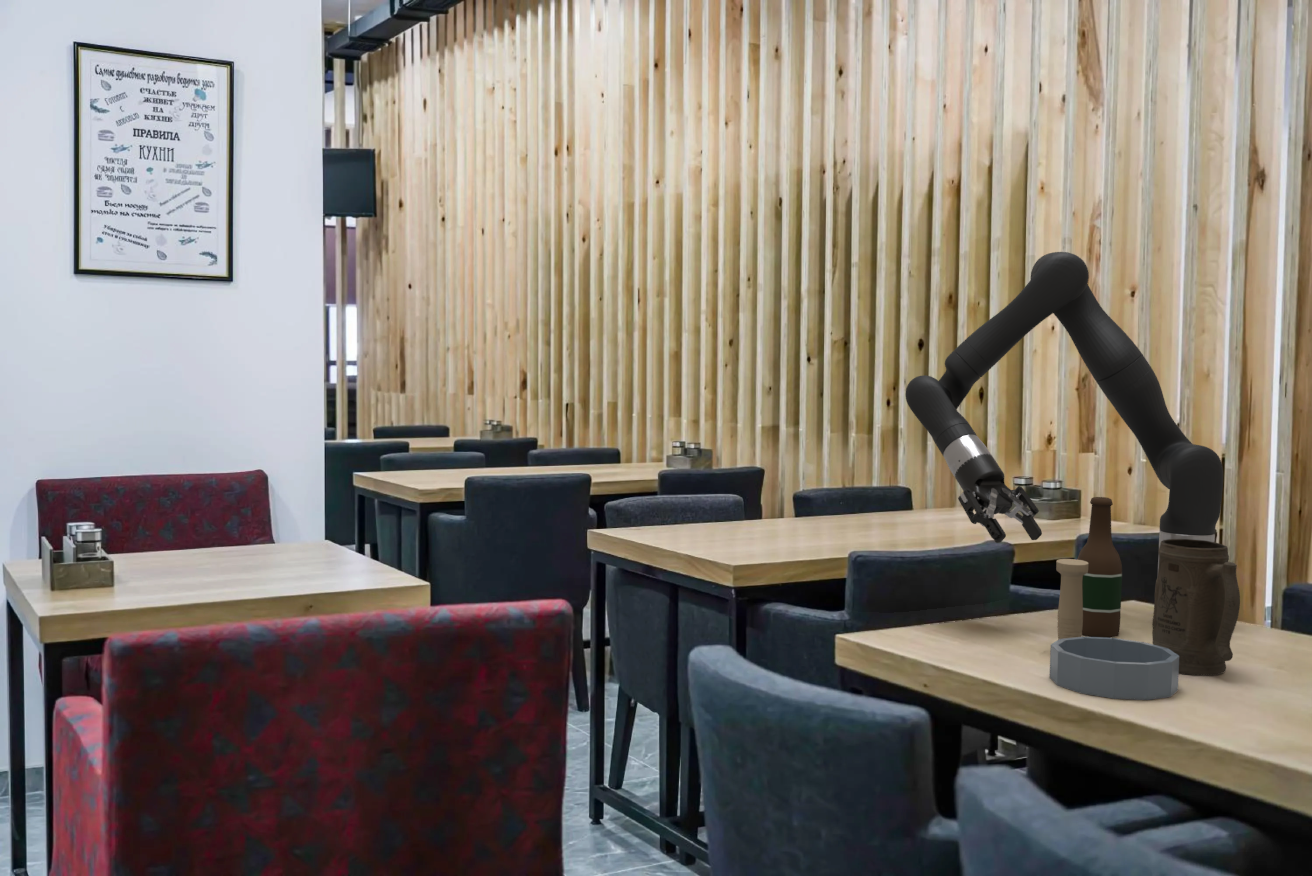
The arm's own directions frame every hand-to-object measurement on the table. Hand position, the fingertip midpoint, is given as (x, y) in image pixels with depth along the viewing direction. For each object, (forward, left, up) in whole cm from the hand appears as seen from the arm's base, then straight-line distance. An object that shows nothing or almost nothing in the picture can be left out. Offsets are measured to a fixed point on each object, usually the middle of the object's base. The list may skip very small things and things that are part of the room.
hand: (1020, 538), depth 202 cm
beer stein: (-12, +27, -18) cm, 35 cm away
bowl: (+7, +28, -17) cm, 34 cm away
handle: (-1, +11, -18) cm, 21 cm away
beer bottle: (-17, +1, -18) cm, 24 cm away
